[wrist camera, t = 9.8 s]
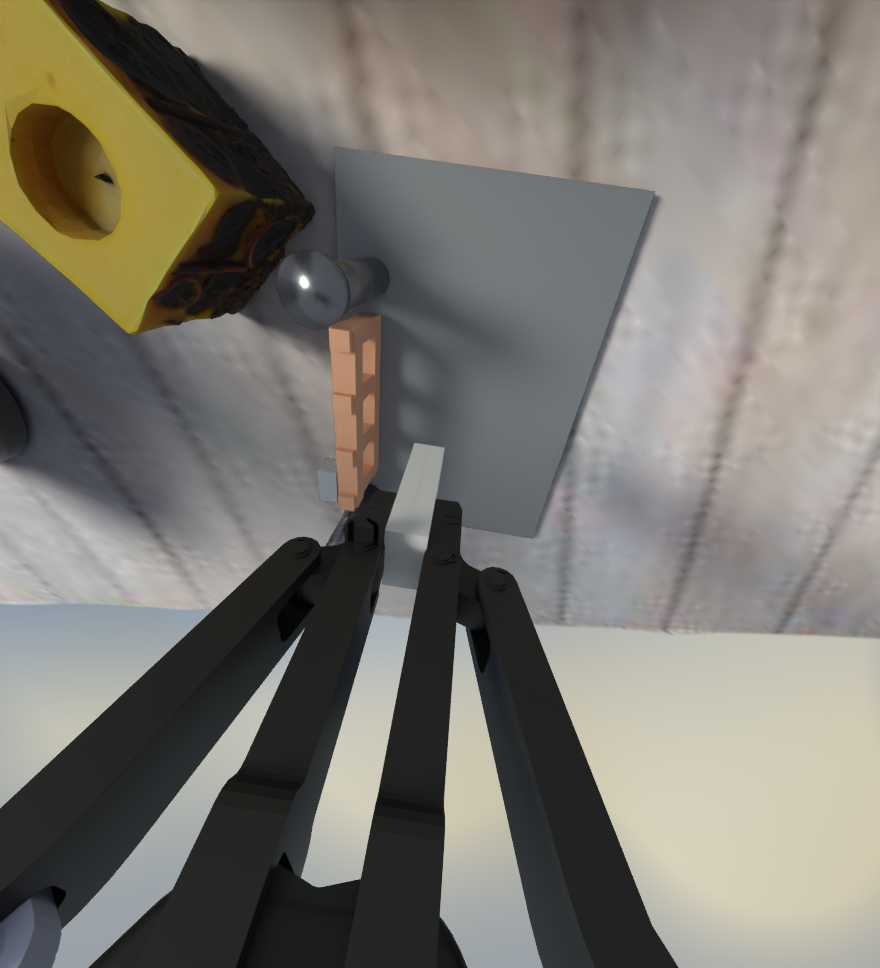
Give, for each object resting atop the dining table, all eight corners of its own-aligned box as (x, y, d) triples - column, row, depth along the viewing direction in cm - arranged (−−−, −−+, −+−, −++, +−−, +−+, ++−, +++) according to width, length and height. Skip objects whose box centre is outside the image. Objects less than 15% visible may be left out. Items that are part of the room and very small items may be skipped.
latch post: (341, 498, 37) (291, 578, 28) (338, 442, 33) (281, 513, 24) (386, 506, 37) (351, 589, 28) (389, 450, 33) (350, 525, 24)
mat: (346, 502, 37) (344, 505, 36) (337, 148, 22) (333, 146, 22) (531, 534, 36) (532, 538, 36) (651, 192, 21) (655, 191, 21)
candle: (320, 211, 24) (228, 192, 16) (241, 317, 28) (136, 345, 20) (183, 41, 20) (-30, -102, 12) (117, 192, 25) (-73, 163, 16)
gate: (360, 311, 26) (325, 327, 21) (381, 314, 26) (351, 331, 20) (362, 466, 33) (336, 508, 28) (378, 468, 33) (355, 511, 28)
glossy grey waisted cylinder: (353, 298, 26) (281, 324, 17) (352, 246, 25) (272, 245, 16) (396, 305, 26) (346, 334, 17) (398, 253, 25) (344, 256, 16)
